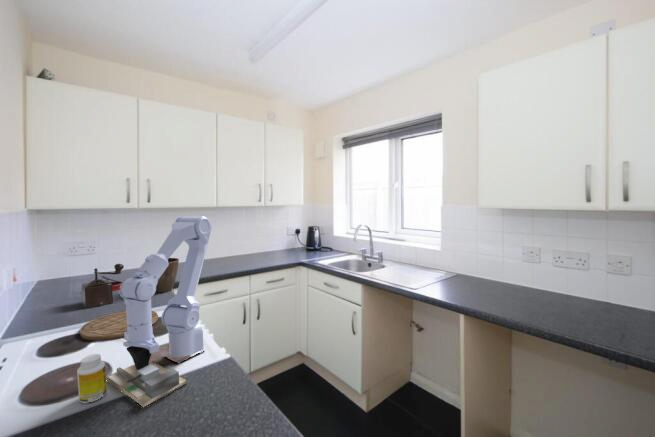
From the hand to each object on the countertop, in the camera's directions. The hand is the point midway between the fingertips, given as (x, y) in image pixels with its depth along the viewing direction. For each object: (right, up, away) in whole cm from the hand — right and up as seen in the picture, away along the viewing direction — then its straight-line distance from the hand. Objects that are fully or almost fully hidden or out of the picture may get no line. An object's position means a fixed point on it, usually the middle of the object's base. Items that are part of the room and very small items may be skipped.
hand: (142, 370), depth 84 cm
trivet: (-30, -1, +36) cm, 47 cm away
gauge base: (+1, -3, -1) cm, 3 cm away
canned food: (-66, +3, +83) cm, 106 cm away
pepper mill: (-55, +1, +62) cm, 83 cm away
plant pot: (-36, +3, +80) cm, 87 cm away
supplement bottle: (-9, -4, -6) cm, 11 cm away
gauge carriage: (+2, -2, -3) cm, 4 cm away
